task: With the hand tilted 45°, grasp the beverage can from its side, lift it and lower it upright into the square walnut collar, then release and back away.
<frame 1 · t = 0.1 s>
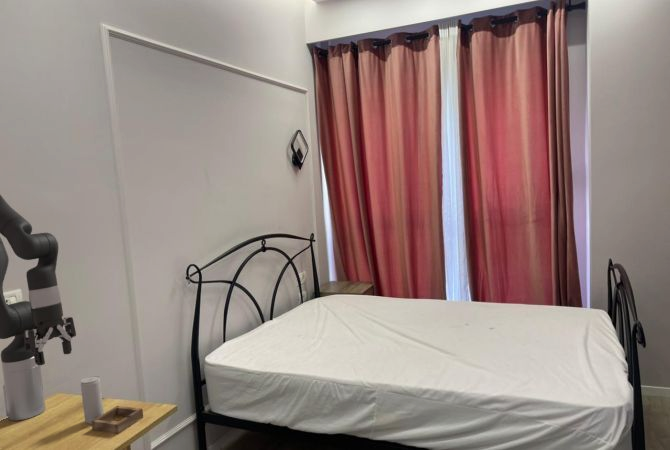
hand: (54, 359, 132), 17 cm above the table, tool pointing down, fingers open, 8 cm apart
collar: (118, 423, 128), on the table
beverage can: (94, 421, 131), on the table
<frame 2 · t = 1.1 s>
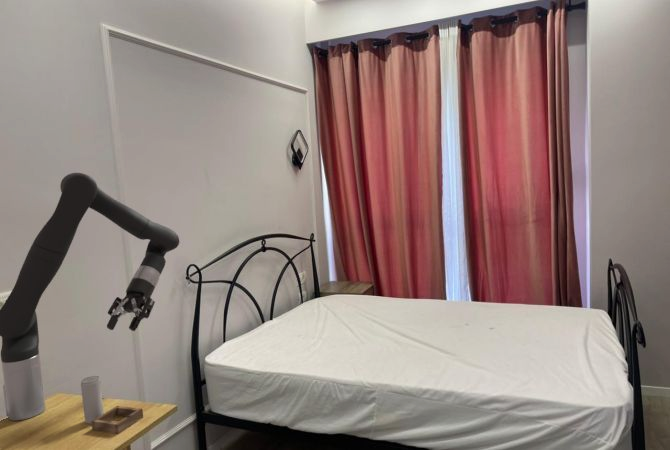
hand: (120, 329, 139), 23 cm above the table, tool tilted 45°, fingers open, 8 cm apart
nothing on the table moved.
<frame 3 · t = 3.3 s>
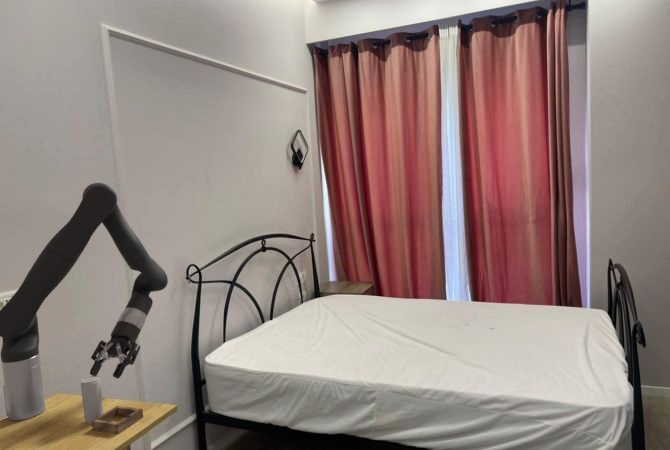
hand: (104, 376, 134), 11 cm above the table, tool tilted 45°, fingers open, 8 cm apart
nothing on the table moved.
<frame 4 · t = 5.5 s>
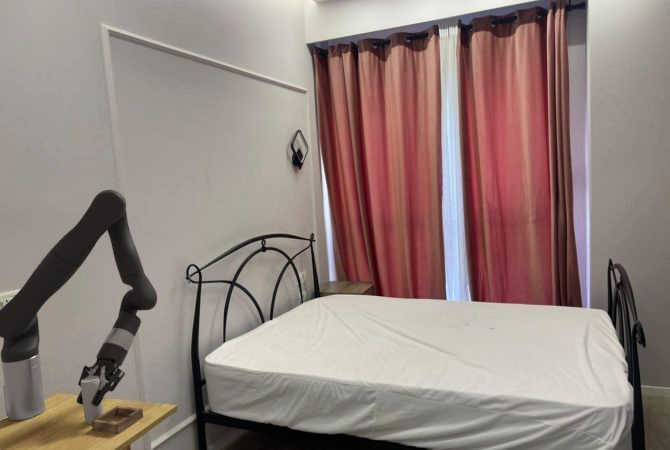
hand: (87, 404, 128), 6 cm above the table, tool tilted 45°, fingers closed on beverage can, 4 cm apart
beverage can: (94, 421, 131), on the table, touching gripper
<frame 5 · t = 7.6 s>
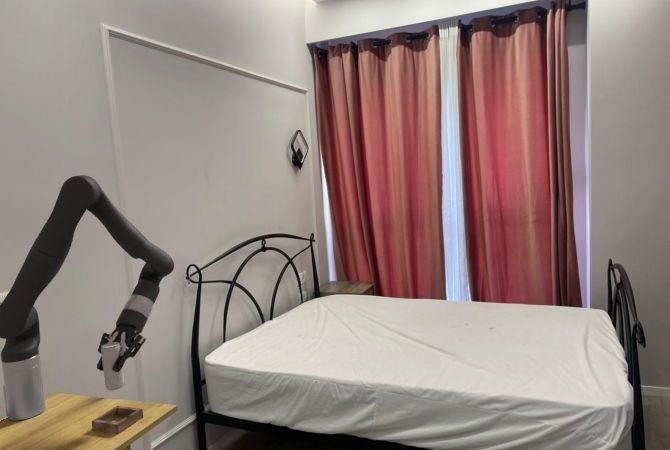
hand: (107, 370, 125), 16 cm above the table, tool tilted 45°, fingers closed on beverage can, 4 cm apart
beverage can: (115, 388, 127), point 10 cm above the table, touching gripper
when the fingers open (7 cm above the table, at t = 9.6 s): beverage can drops 1 cm, resting in collar.
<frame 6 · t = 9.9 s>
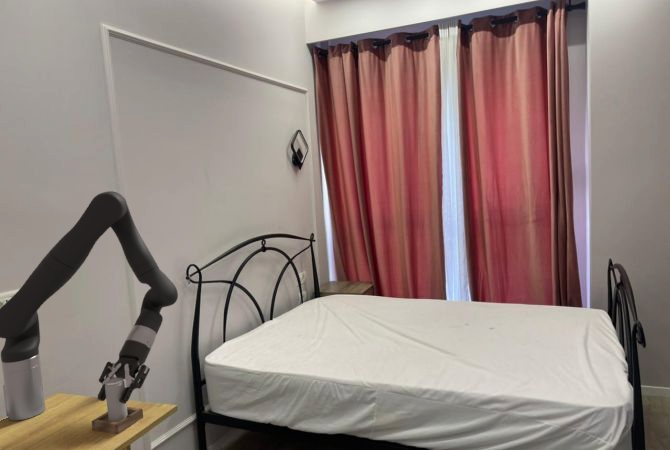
hand: (111, 401, 126), 7 cm above the table, tool tilted 45°, fingers open, 7 cm apart
beverage can: (118, 424, 128), resting in collar
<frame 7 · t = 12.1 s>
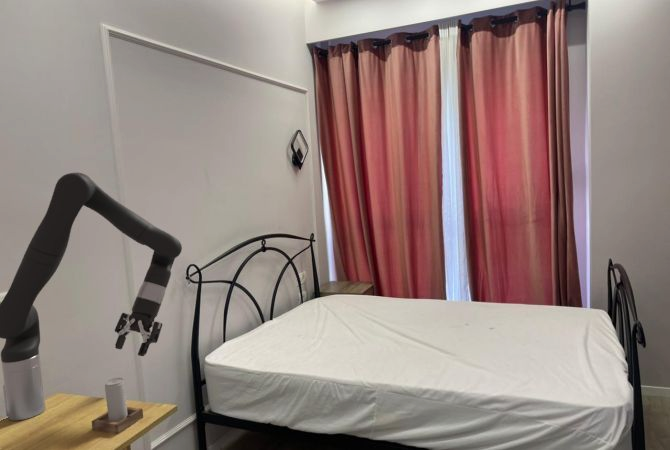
hand: (129, 352, 137), 16 cm above the table, tool tilted 30°, fingers open, 8 cm apart
nothing on the table moved.
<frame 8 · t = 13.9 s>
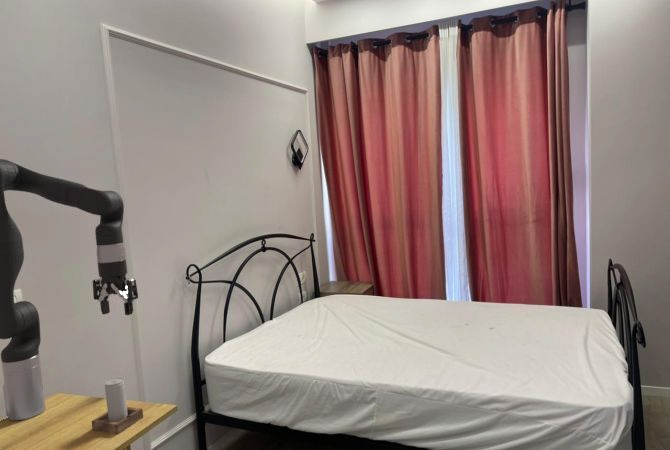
hand: (117, 314, 136), 28 cm above the table, tool pointing down, fingers open, 8 cm apart
nothing on the table moved.
at the end: beverage can 0.2 cm off-centre on the collar, point 0.0 cm above the collar's base; beverage can tilted 0°; the gripper is holding nothing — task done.
